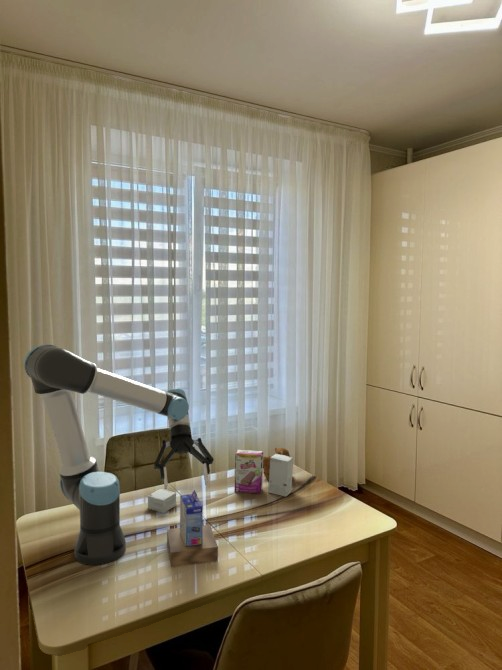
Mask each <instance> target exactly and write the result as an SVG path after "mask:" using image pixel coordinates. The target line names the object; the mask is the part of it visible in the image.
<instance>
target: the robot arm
mask: <svg viewBox="0 0 502 670" xmlns="http://www.w3.org/2000/svg"><path fill="white" fill-rule="evenodd" d="M23 367H24V370H25V373H26V375H27V376H28V377H29V378H30V380H31V383H32V386H33V389H34V394H35V395H38V396H40V397H41V398H42V400H43V404H44V406H45V407H44V408H45V411H46V414H47V418H48V421H49V423H50V424H49V425H50V428H51V431H52V434H53V438H54V441H55V444H56V448H57V452H58V454H59V458H60V462H61V464H62V465H61V466H60V468H59V470H58V472H59V477H60V479H59V486H60V491H61V492H62V494H63V496H64V497H65V498H66V499H67V500H69V501H70V502H71V503H72V504H73V505H74V506H75V507H76V508H77V510H79V526H80V527H79V528H80V529H79V532H78V536H77V539H76V543H75V545H74V549H73V550H74V558H75V560H76V561H77V562H79V563H81V564H83V565H88V566H95V565H96V566H97V565H105V564H108V563H112V562H113V561H116V560H117V559H119V558H120V557H122V556H123V555H124V554H125V552H126V546H127V545H126V543H127V542H126V538H125V535H124V533H123V529H122V527H121V521H120V520H121V519H120V517H121V516H120V513H121V511H120V509H121V507H120V506H121V505H120V496H121V495H120V494H121V487H120V481H119V479H118V477H117V475H115V474H113V473H111V472H106V471H99V470H100V469H99V465H98V463H97V459H96V457H94V456H93V455H90V452H89V449H88V445H87V442H86V438H85V434H84V431H83V427H82V424H81V419H80V417H79V414H78V409H77V405H76V403H75V398H74V396H73V392H74V393H79V394H81V395H85V394H86V393H90V394H93V395H96V396H99V397H103V398H106V399H108V400H109V399H110V400H112V401H113V400H114V401H116V402H119V403H124V404H126V405H129V406H133V407H135V408H136V407H137V408H139V409H142V410H145V411H149V412H153V413H155V414H158V415H161V416H164V417H167V419H168V420H167V421H168V429H169V438H170V441H166V440H165V439H164V440H162V442H161V448H160V451H159V452H158V455H157V457H156V459H155V461H154V466H153V469H155V470H159V475H160V476H159V477H160V479H163V486H164V487H163V488H164V490H168V486H169V483H168V476H167V475H168V473H167V464H168V463H169V462H170V460H171V459H172V458H173V456H175V455H176V454H178V455H180V454H188V453H189V454H190V455H191V456H193V457H195V459H196V460H198V461H199V462H200V463H201V464H202V472H203V479H204V485H205V486H207V485H208V484H209V481H210V480H209V475H210V472H211V469H210V468H211V467H210V465H212V464H213V463H214V460H215V459H214V457H213V455H212V454H211V453H210V452H209V450H208V449H207V447H206V446H205V445H204V443H203V441H202V438H201V437H198V438H197V439H193V436H192V429H191V423H190V416H189V409H190V408H189V406H190V405H189V402H188V398H187V395H186V391H184V389H182V388H180V387H179V388H178V387H177V388H170V389H169V390H168V391H164V390H161V389H159V388H156V387H153V386H150V385H147V384H145V383H141V382H139V381H136V380H132V379H130V378H127V377H125V376H123V375H122V376H121V375H118V374H117V373H112V372H110V371H107V370H104V369H101V368H98V367H97V365H96V363H94V362H91V361H89V360H86V359H84V358H83V357H81V356H79V355H76V354H74V353H73V352H72V351H70V350H67V349H64V348H62V347H59V346H56V345H54V344H41V345H37V346H35V347H33V348H31V349H30V351H28V353H26V356H25V357H24V361H23ZM194 445H195V446H196V447H197V448H198V450H199V451H200V452H199V451H198V450H197V449H196V448H195V446H194ZM168 447H170V448H171V450H170V452H168V454H167V455H166V457H165V458H164V459H163V460H162V458H163V456H164V453H165V451H166V449H167V448H168ZM161 460H162V461H161Z"/></svg>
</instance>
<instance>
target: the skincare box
mask: <svg viewBox="0 0 502 670" xmlns="http://www.w3.org/2000/svg"><path fill="white" fill-rule="evenodd" d="M294 460H295V459H294V457H292V456H289V457H288V456H285V455H279V454H276V453H275V454H273V455H272V457H270V472H269V480H268V490H267V493H268V494H274V495H277V496H282V497H285V498H286V497H287V496H289V494H291V493H292V489H293V487H292V486H293V481H292V476H293V474H294V473H293V472H294Z"/></svg>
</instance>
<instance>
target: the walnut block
mask: <svg viewBox="0 0 502 670" xmlns="http://www.w3.org/2000/svg"><path fill="white" fill-rule="evenodd" d="M166 544H167V551H168V558H169V563H170V568H173V567H174V568H175V567H182V566H191V565H197V564H198V565H199V564H205V563H206V564H207V563H215V562H218V561H219V546H218V543H217V541H216V538H215V535H214V531H213V528H212V526H211V524H204V525H203V544H201V545H193V546H186V545H185V543H184V540H183V538H182V535H181V532H180V527H178V528H177V527H176V528H168V529H166Z"/></svg>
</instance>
